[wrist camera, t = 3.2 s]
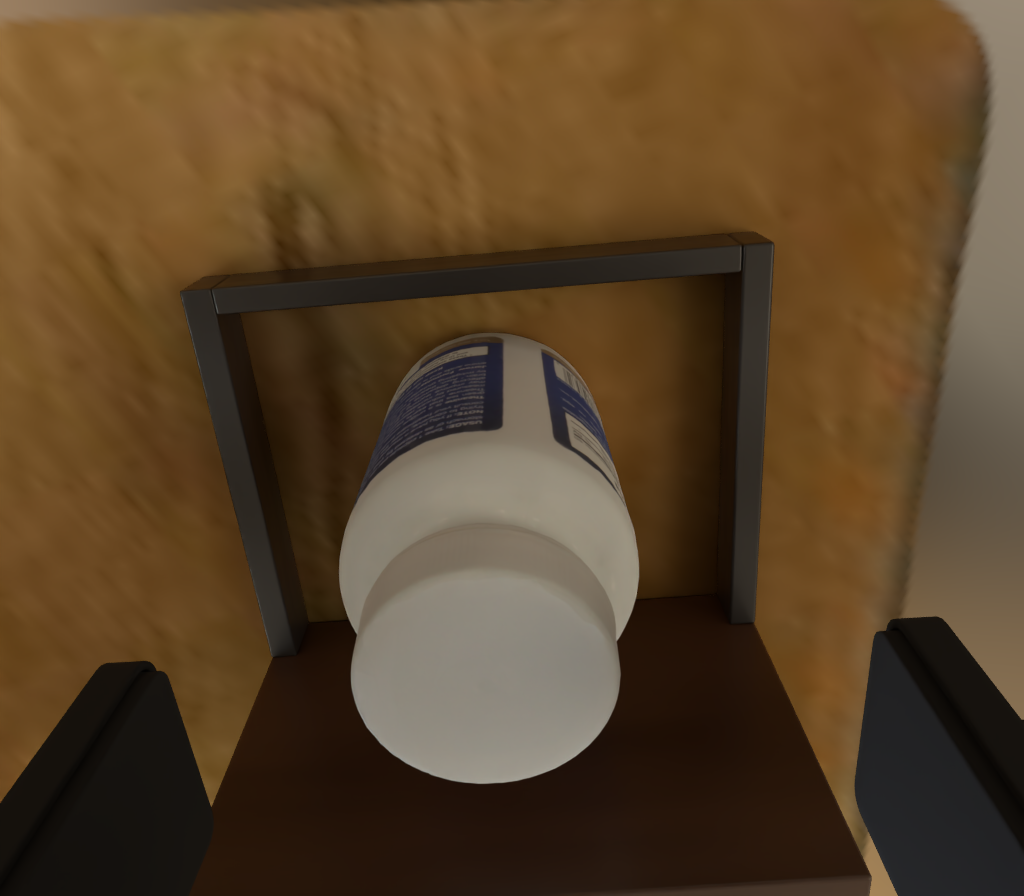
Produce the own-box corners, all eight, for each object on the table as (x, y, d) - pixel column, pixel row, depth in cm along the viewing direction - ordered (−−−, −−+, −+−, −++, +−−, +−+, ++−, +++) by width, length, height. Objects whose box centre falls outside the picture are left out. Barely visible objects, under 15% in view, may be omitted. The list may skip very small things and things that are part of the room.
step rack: (202, 276, 19) (-175, 510, 8) (756, 230, 19) (1078, 415, 8) (343, 867, 27) (240, 1359, 17) (729, 843, 27) (874, 1329, 16)
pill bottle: (373, 500, 21) (280, 792, 13) (407, 306, 19) (323, 492, 10) (570, 537, 22) (613, 843, 13) (624, 353, 20) (720, 568, 11)
